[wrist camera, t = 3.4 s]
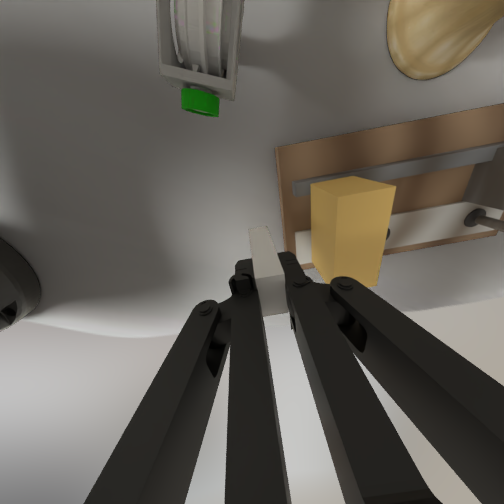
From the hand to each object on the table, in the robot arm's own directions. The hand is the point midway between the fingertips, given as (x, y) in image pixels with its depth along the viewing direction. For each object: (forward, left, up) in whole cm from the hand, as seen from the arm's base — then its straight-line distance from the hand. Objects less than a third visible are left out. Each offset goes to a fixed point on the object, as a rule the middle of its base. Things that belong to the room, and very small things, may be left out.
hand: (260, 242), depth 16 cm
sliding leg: (+7, -1, -3) cm, 8 cm away
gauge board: (+15, 0, -5) cm, 16 cm away
